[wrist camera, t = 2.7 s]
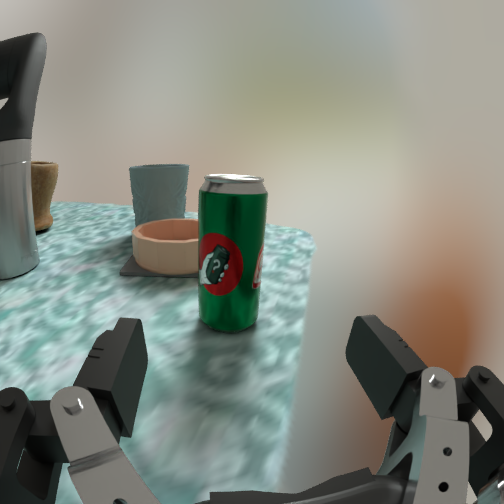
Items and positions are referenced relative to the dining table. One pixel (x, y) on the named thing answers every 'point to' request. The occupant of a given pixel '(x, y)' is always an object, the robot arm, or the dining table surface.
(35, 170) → the tan boot
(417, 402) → the robot arm
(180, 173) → the grey-green tumbler
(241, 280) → the soda can
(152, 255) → the bowl
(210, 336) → the dining table surface
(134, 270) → the mat
